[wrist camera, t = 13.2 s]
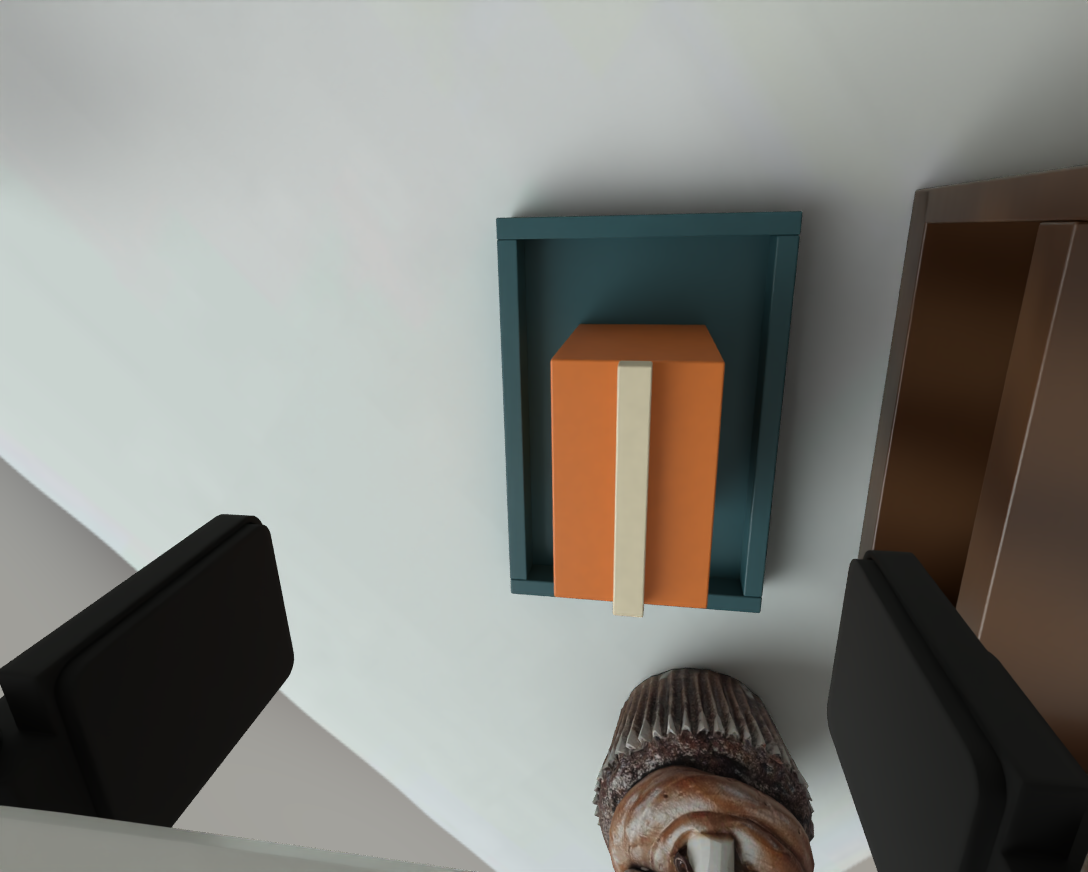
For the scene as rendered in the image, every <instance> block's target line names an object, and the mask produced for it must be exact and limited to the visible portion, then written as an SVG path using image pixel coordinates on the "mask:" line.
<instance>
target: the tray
mask: <svg viewBox="0 0 1088 872" xmlns="http://www.w3.org/2000/svg"><path fill="white" fill-rule="evenodd" d="M801 222H802V211H784V212H739V213H694V214H650V215H605V216H560V217H515V218H497V219H496V227H497V239H498V240H497V251H498V277H499V302H500V328H501V353H502V379H503V404H504V430H505V455H506V480H507V506H508V531H509V557H510V578H511V593H513V594H526V595H538V596H551V597H555V596H554V566H553V498H552V431H551V363H550V361H551V359H552V358H553V356H554V355H555V354H556V353H557V351H558V350H559V349H560V348H561V346H562V345H563V344H564V343H565V341H566V340H567V339H568V338H569V337H570V335H571V334H572V333H573V332H574V330H575V329H576V328H577V327H578V325H579V324H665V325H706V327H707V329H708V331H709V333H710V335H711V337H712V339H713V341H714V343H715V345H716V347H717V349H718V351H719V352H720V354H721V356H722V358H723V360H724V362H725V372H724V385H723V399H722V412H721V426H720V440H719V453H718V467H717V480H716V494H715V508H714V521H713V535H712V548H711V562H710V576H709V589H708V603H707V608H703V609H715V610H728V611H740V612H753V613H760V611H761V602H762V598H761V597H762V592H763V583H764V573H765V564H766V554H767V545H768V535H769V525H770V516H771V506H772V497H773V487H774V478H775V468H776V459H777V449H778V440H779V430H780V421H781V411H782V401H783V392H784V382H785V373H786V363H787V354H788V344H789V335H790V325H791V316H792V306H793V296H794V287H795V277H796V268H797V258H798V249H799V239H800V237H799V234H800V232H801ZM564 598H566V597H564ZM576 599H578V598H576ZM589 600H591V599H589ZM601 601H604V600H601ZM652 605H654V604H652ZM665 606H667V605H665ZM677 607H680V606H677ZM690 608H692V607H690Z"/></svg>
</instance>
